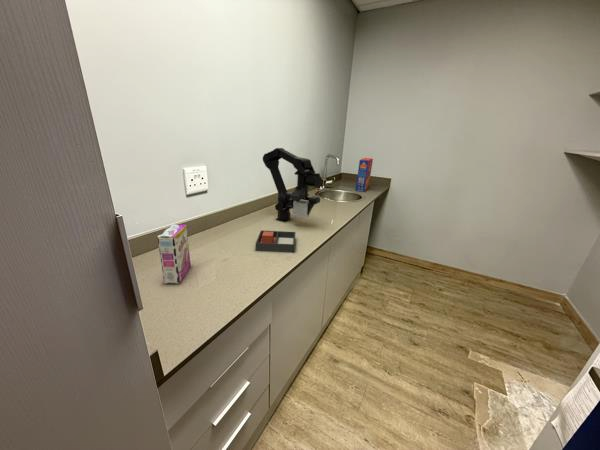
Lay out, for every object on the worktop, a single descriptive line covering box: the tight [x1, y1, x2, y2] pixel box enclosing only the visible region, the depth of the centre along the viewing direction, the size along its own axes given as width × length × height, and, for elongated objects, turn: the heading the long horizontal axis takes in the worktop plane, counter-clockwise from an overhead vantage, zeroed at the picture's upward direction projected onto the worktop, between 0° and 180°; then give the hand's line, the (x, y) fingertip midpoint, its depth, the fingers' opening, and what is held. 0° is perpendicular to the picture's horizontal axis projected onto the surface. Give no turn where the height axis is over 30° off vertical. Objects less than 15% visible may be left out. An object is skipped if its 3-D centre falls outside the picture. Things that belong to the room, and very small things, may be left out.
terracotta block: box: [262, 230, 274, 243], centre depth 107 cm, size 4×4×4 cm
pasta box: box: [355, 157, 374, 193], centre depth 231 cm, size 28×8×28 cm, turn 157°
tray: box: [255, 229, 296, 253], centre depth 107 cm, size 16×14×4 cm
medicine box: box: [292, 199, 310, 220], centre depth 128 cm, size 8×4×9 cm, turn 71°
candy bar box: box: [156, 223, 192, 285], centre depth 79 cm, size 11×5×16 cm, turn 5°
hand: (301, 213), depth 129 cm, fingers closed on medicine box, 8 cm apart
